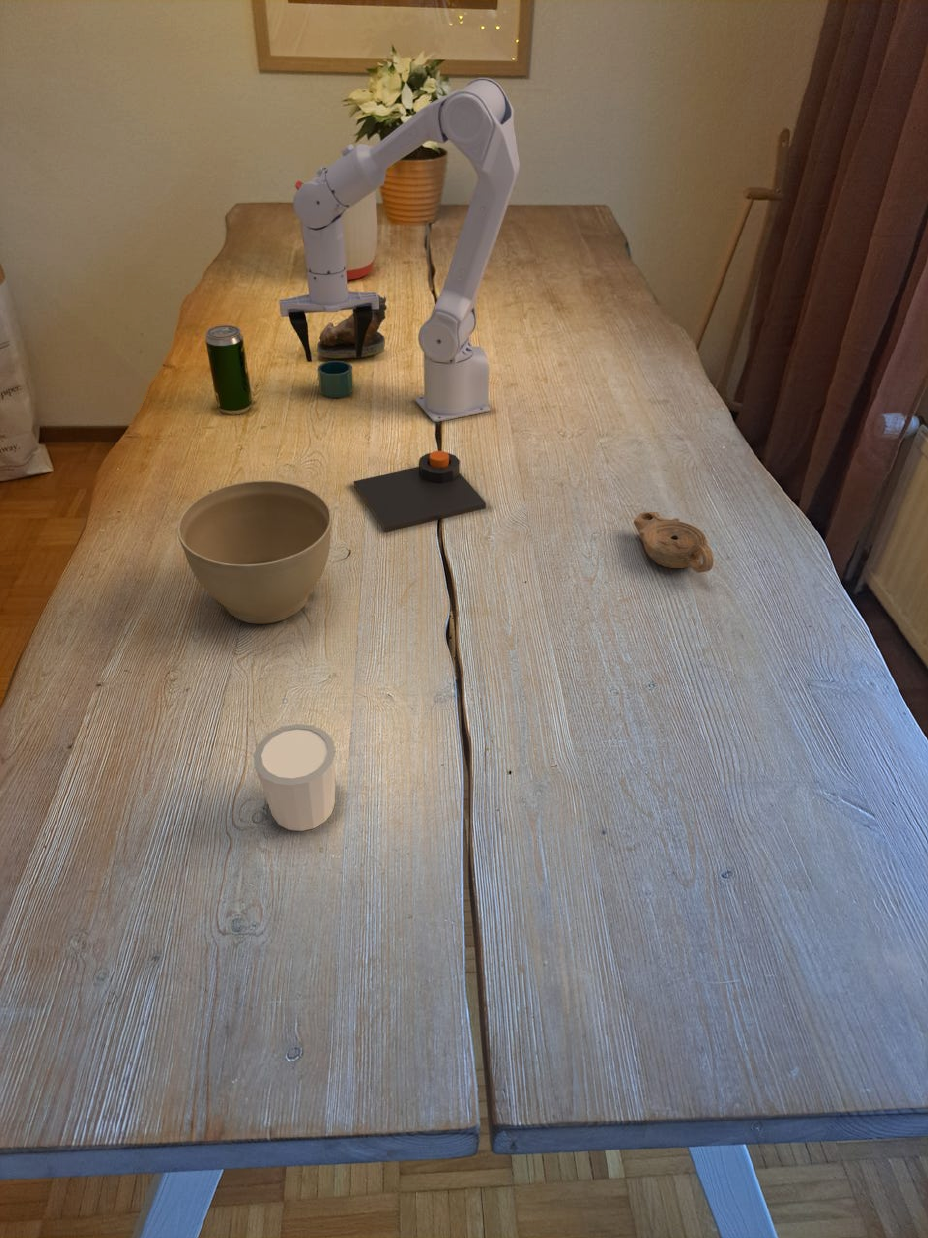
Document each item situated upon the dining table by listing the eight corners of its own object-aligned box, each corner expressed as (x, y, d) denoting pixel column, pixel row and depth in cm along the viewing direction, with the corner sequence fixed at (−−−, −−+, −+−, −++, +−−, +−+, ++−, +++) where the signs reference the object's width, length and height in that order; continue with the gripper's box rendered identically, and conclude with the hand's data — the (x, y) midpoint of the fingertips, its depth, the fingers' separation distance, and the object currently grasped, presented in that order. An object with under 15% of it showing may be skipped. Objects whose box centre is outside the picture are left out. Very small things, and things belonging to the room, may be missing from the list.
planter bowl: (218, 663, 95) (200, 581, 88) (179, 579, 106) (161, 500, 99) (360, 619, 101) (354, 538, 94) (310, 544, 112) (301, 467, 105)
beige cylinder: (267, 777, 83) (257, 725, 79) (342, 773, 84) (336, 721, 79) (260, 839, 78) (249, 786, 74) (340, 834, 79) (334, 781, 74)
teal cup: (347, 381, 147) (345, 358, 144) (358, 395, 143) (356, 371, 140) (315, 387, 145) (313, 363, 142) (326, 401, 141) (323, 377, 139)
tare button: (444, 457, 124) (444, 449, 123) (451, 466, 122) (451, 457, 122) (426, 461, 123) (426, 452, 122) (434, 470, 122) (434, 461, 121)
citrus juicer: (333, 252, 195) (325, 150, 182) (396, 269, 187) (392, 163, 174) (281, 272, 185) (269, 165, 172) (345, 291, 177) (337, 181, 164)
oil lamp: (617, 536, 114) (622, 502, 111) (667, 523, 116) (674, 490, 113) (675, 596, 105) (682, 561, 102) (729, 581, 107) (738, 546, 104)
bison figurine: (318, 365, 151) (312, 305, 145) (317, 348, 157) (312, 289, 150) (390, 362, 153) (387, 303, 146) (387, 345, 158) (384, 287, 151)
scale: (449, 464, 127) (449, 448, 125) (487, 508, 119) (488, 491, 117) (353, 485, 122) (351, 469, 121) (385, 533, 114) (384, 516, 112)
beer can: (225, 418, 137) (212, 341, 129) (212, 404, 140) (198, 329, 132) (258, 409, 139) (247, 333, 131) (244, 396, 142) (233, 321, 135)
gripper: (278, 281, 127) (289, 372, 136) (380, 273, 130) (384, 363, 139) (274, 264, 132) (284, 353, 141) (372, 257, 135) (376, 344, 144)
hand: (333, 356), depth 140 cm, fingers open, 7 cm apart
